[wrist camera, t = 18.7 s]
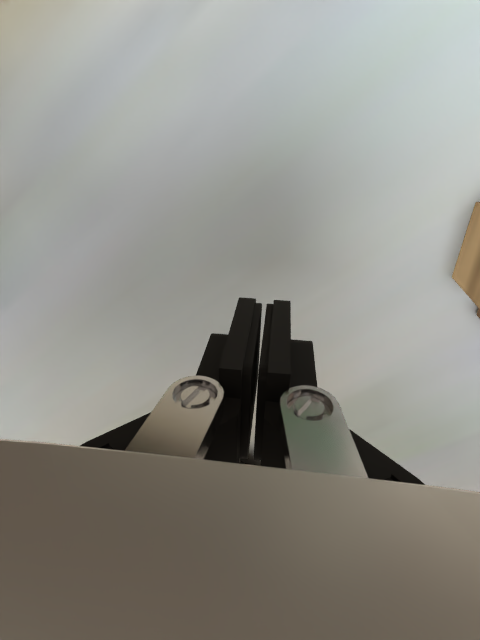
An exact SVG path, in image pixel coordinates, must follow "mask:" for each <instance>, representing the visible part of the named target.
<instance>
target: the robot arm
mask: <svg viewBox="0 0 480 640" xmlns="http://www.w3.org/2000/svg"><path fill="white" fill-rule="evenodd" d="M261 311H262V303H256V299H253V298H239V300H238V303H237V307H236V310H235V314H234V317H233V321H232V324H231V327H230V331H229V334H228V335H226V334H211V336H210V339H209V341H208V344H207V347H206V349H205V352H204V355H203V358H202V360H201V363H200V366H199V368H198V371H197V374H196V376H188V377H185V378H182V379H179V380H178V381H176V382H174V383H173V384H172V385H171V386H170V387H169V388H168V389H167V391H166V392H165V394H164V395H163V396H162V398H161V399H160V401H159V402H158V404H157V405H156V406H155V408H154V409H153V411H152V412H151V413H149V414H146V415H144V416H142V417H140V418H138V419H135V420H133V421H131V422H129V423H127V424H125V425H122V426H120V427H118V428H116V429H114V430H111V431H109V432H107V433H105V434H103V435H100V436H98V437H96V438H94V439H92V440H90V441H87V442H86V443H84V444H82V445H80V446H74V445H64V444H55V443H46V442H35V441H22V440H8V439H0V640H480V492H475V491H468V490H461V489H455V488H446V487H438V486H429V485H425V484H424V483H423V482H421V481H420V480H419V479H418V478H417V477H415V476H414V475H412V474H411V473H410V472H408V471H407V470H405V469H404V468H403V467H401V466H400V465H399V464H397V463H396V462H394V461H393V460H392V459H390V458H389V457H387V456H386V455H385V454H383V453H382V452H380V451H379V450H378V449H376V448H375V447H373V446H372V445H371V444H369V443H368V442H366V441H365V440H364V439H362V438H361V437H360V436H358V435H357V434H355V433H354V432H353V431H351V430H350V429H349V428H348V425H347V423H346V420H345V418H344V415H343V413H342V410H341V407H340V405H339V403H338V401H337V400H336V398H335V397H334V396H333V395H331V394H330V393H329V392H327V391H325V390H323V389H321V388H318V387H317V380H316V371H315V361H314V352H313V343H312V341H302V340H291V320H290V301H282V300H274V304H267V308H266V316H265V324H264V332H263V340H262V348H261V356H260V364H259V348H260V330H261ZM258 366H259V374H258ZM257 380H258V390H257V408H256V426H255V444H254V460H261V466H257V465H248V464H240V459H241V458H243V459H248V453H249V445H250V436H251V428H252V420H253V412H254V404H255V396H256V388H257Z"/></svg>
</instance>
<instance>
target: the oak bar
mask: <svg viewBox="0 0 480 640" xmlns="http://www.w3.org/2000/svg"><path fill="white" fill-rule="evenodd" d="M452 278H453V279H454V280H455V281H456V283H457V284H458V285H459V286H460V287H461V288H462V289H463V291H464V292H465V293H466V294H467V295H468V296H469V297H470V299H471V300H472V301H473V302H474V303H475V304H476V305H477V307H478V308H479V309H480V202H476V203H475V206H474V209H473V212H472V215H471V219H470V222H469V225H468V228H467V231H466V234H465V237H464V240H463V244H462V247H461V250H460V253H459V256H458V259H457V262H456V265H455V269H454V272H453V275H452Z"/></svg>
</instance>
